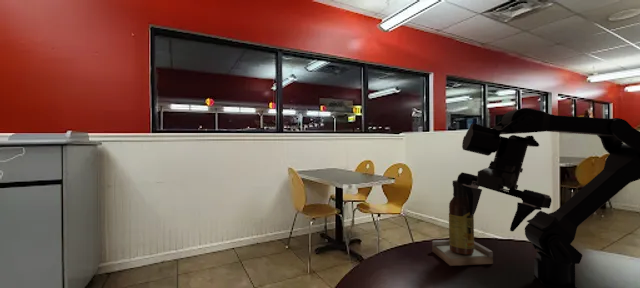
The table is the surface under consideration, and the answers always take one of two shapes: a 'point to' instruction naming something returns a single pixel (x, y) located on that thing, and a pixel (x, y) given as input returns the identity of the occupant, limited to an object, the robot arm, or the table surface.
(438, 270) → the table surface
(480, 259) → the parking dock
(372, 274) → the table surface
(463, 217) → the sauce bottle
